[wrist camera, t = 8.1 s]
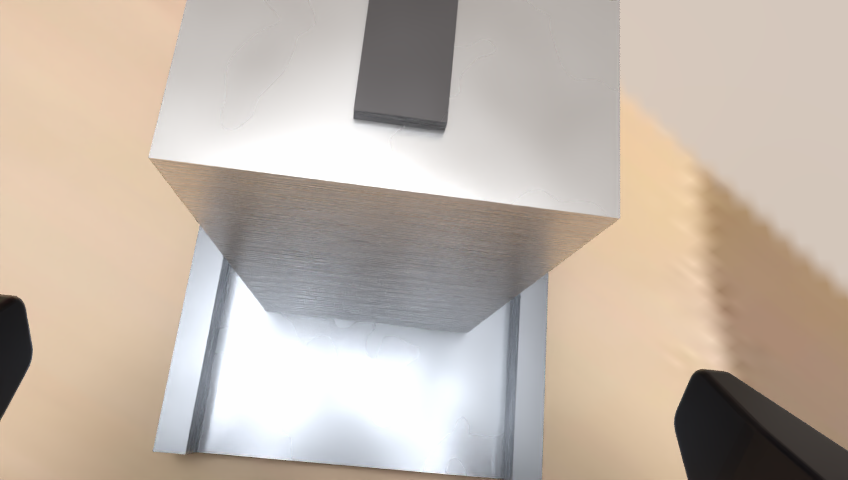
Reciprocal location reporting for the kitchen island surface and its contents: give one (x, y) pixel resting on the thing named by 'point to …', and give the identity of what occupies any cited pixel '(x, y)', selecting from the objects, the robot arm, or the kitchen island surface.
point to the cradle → (354, 384)
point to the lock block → (394, 148)
